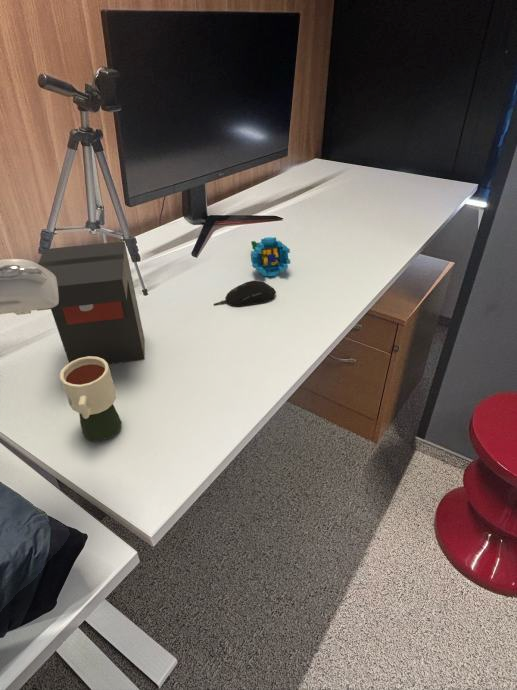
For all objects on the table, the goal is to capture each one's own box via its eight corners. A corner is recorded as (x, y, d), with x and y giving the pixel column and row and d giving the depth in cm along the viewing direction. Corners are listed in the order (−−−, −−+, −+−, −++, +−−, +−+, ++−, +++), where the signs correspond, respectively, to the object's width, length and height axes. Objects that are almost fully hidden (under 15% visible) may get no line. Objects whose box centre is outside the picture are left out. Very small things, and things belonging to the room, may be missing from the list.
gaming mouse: (210, 298, 112) (209, 283, 110) (270, 287, 116) (270, 272, 113) (217, 312, 107) (215, 297, 105) (279, 300, 111) (279, 285, 108)
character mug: (86, 408, 84) (67, 350, 76) (127, 404, 85) (113, 346, 77) (74, 457, 76) (51, 397, 68) (120, 453, 76) (103, 393, 68)
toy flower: (273, 260, 134) (291, 275, 118) (242, 264, 132) (256, 280, 116) (271, 227, 131) (290, 238, 114) (239, 231, 129) (253, 242, 113)
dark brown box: (66, 393, 87) (29, 289, 74) (74, 347, 98) (43, 249, 85) (144, 382, 89) (122, 279, 76) (144, 338, 100) (124, 241, 87)
